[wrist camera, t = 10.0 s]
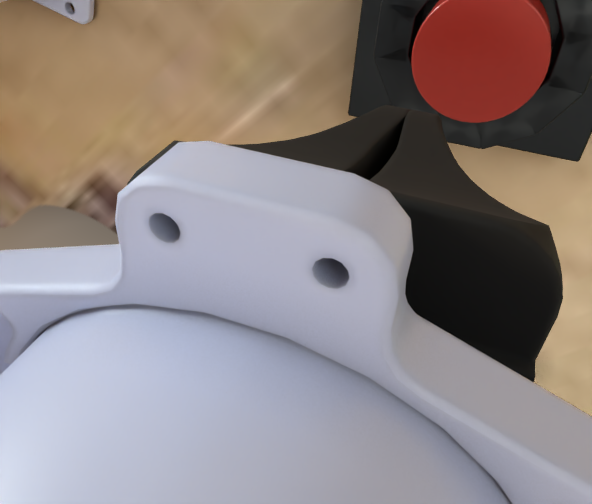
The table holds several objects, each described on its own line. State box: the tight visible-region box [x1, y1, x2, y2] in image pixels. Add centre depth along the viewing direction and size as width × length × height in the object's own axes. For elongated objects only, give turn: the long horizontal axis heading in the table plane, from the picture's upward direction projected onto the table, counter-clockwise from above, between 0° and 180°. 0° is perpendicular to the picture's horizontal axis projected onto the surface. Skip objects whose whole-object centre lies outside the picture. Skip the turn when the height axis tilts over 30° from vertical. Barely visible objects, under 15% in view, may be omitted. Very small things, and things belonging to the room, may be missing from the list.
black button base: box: [348, 0, 592, 162], centre depth 18 cm, size 9×8×3 cm
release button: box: [411, 0, 551, 123], centre depth 17 cm, size 4×4×2 cm
